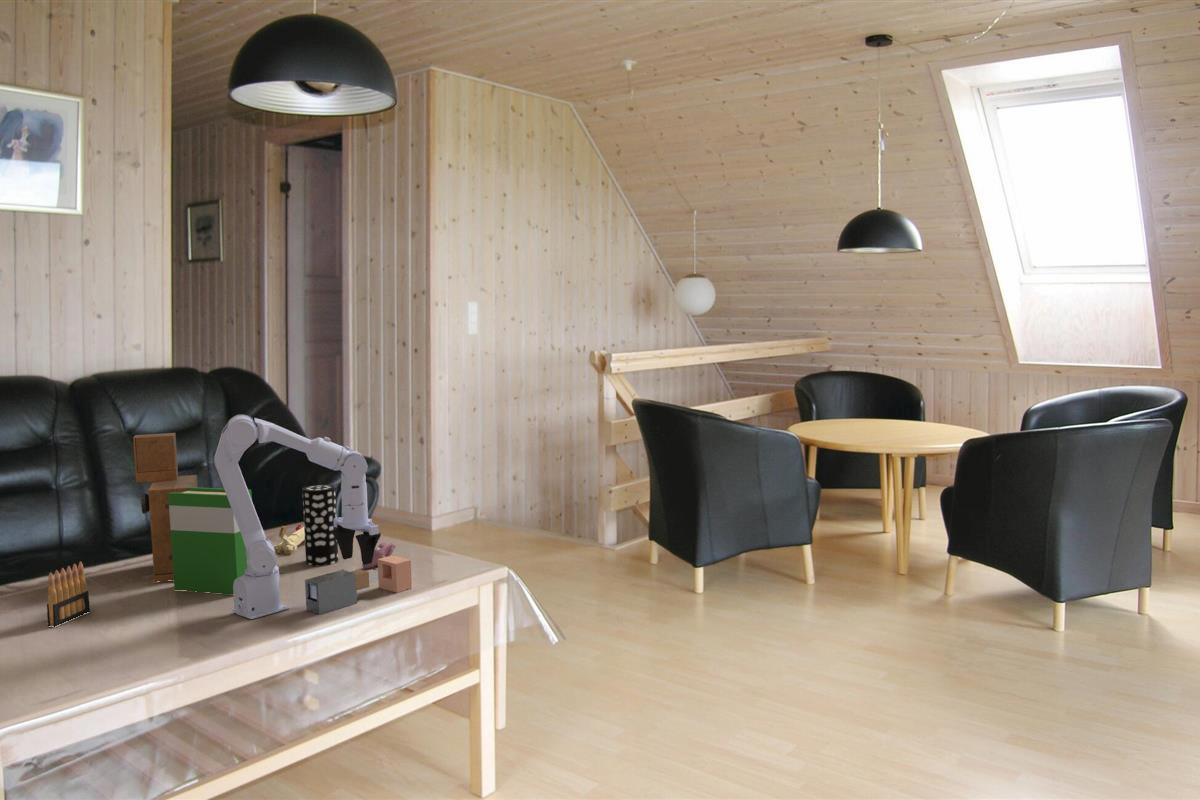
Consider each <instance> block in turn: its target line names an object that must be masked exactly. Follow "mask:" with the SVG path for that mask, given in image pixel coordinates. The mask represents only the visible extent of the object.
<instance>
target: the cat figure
mask: <svg viewBox="0 0 1200 800" xmlns="http://www.w3.org/2000/svg"><path fill="white" fill-rule="evenodd" d="M302 525H304V522H301V523H300V524H298V525H297V526H295V531H294V532H293V533H292V534H291V535H289V536H287V534H286V533H287V527H286V526H283V525H282V526H281V527H280V530H279V534H278V537H279V538H280V539H281V540H282V541H281V542H280V543H279V544H273V545H274V547H275V554H276V555H280V554H281V553H282V551H283V552H284V554H285V555H287V554H288V555H287V556H290V554H291V555H292V554H294V552H295V551H297V549H298V546H300V544H301V543H302V542H305V533H304V526H303V527H302ZM279 553H280V554H279Z"/></svg>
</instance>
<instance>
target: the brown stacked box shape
mask: <svg viewBox="0 0 1200 800" xmlns="http://www.w3.org/2000/svg"><path fill="white" fill-rule="evenodd" d="M176 436H177V435H176V432H168V433H167V432H165V433H163V432H162V433H151V434H148V433H147V434H135V435H134V436H133V439H132V440H133V454H134V467H135V483H136V484H137V483H138V484H139V483H151V485H150V487H149V488H148V489H147V490H148V491H147V492H148V493H145V492H144V493H141V496H140V501H141V502H140V504H141V506H140V507H141V513H142V515H144V514H145V515H146V514H148V513H149V519H150V537H151V548H152V550H151V552H152V564H153V583H154V582H157V581H167V582H169V581H168V580H174V575H173V560H172V544H171V529H170V513H169V498H168V493H170V492H175V493H182V492H186V488H188V487H197V488H199V486H198V475H197V474H192V475H191V474H190V475H189V474H188V475H179V470H178V455H177V453H178V452H177V450H178V449H177V437H176Z"/></svg>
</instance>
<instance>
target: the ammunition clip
mask: <svg viewBox="0 0 1200 800" xmlns="http://www.w3.org/2000/svg"><path fill="white" fill-rule="evenodd" d="M84 569H85V568H84V564H83V562H82V561H79V563H78V566H77V564H76V563H73V564H72V569H71V566H70V565H68V566H67V568H66V570H65V569H64V567H61V569H60V573H59V571H58V570H57V569H55V571H54V575H53V573H52V571H51V572H49V573H48V578H47V579H48V580H47V584H48V585H47V587H48V588H47V589H48V590H47V601H48V603H47V604H46V614H47V615H46V616H47V627H48V626H54V627H55V626H57V625H59V624H62V623H64V622H66V621H69V620H71V619H73V618H76V617H78V616H80V615H83V614H84V613H87V612H90V613H91V607H90V604H91V603H90V596H89V591H88V590H87V580H86V575H85V570H84Z"/></svg>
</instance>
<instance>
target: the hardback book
mask: <svg viewBox="0 0 1200 800" xmlns="http://www.w3.org/2000/svg"><path fill="white" fill-rule="evenodd" d="M197 487H198V486H197ZM197 487H188V488H186V492H182V493H175V492H170V493H168V498H169V513H170V529H171V544H172V560H173V575H174V581H173V586H174V587H173V588H174V590H187V591H194V592H193V593H196V592H195V591H197V592H210V593H222V594H221V595H225V594H233V584H234V581H235V579H236V578H239V577H241V576H243V575H244V574H245V569H247V567H248V566H247V557H246V547H245V544H244V541H243V537H242V535H241V532H240V529H239V527H238V524H237V521H236V519H235V516H234V513H233V511H232V508H231V506H230V503H229V500H228V498H227V495H226V492H225V490H224V487H223V488H220V487H219V488H216V487H213V488H212V487H198V488H197ZM247 489H248V491H249V494H250V497H251V499H252V500H253V497H252V495H253V494H252V489H249V488H247ZM210 593H209V594H210Z"/></svg>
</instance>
